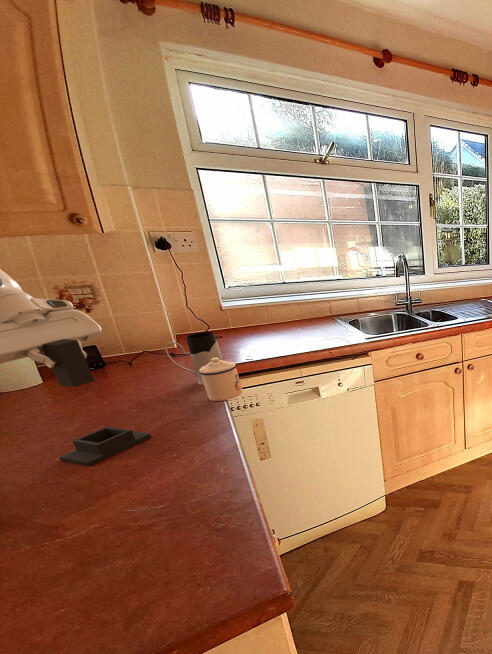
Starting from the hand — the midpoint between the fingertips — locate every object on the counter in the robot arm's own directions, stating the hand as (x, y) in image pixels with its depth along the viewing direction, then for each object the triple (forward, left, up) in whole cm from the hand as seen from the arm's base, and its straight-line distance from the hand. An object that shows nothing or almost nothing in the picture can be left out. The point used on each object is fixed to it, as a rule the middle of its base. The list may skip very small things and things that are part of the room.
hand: (69, 361), depth 96 cm
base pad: (+2, -9, -19) cm, 21 cm away
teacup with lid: (+25, +13, -20) cm, 35 cm away
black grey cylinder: (+19, +30, -20) cm, 41 cm away
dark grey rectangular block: (0, 0, -5) cm, 5 cm away
